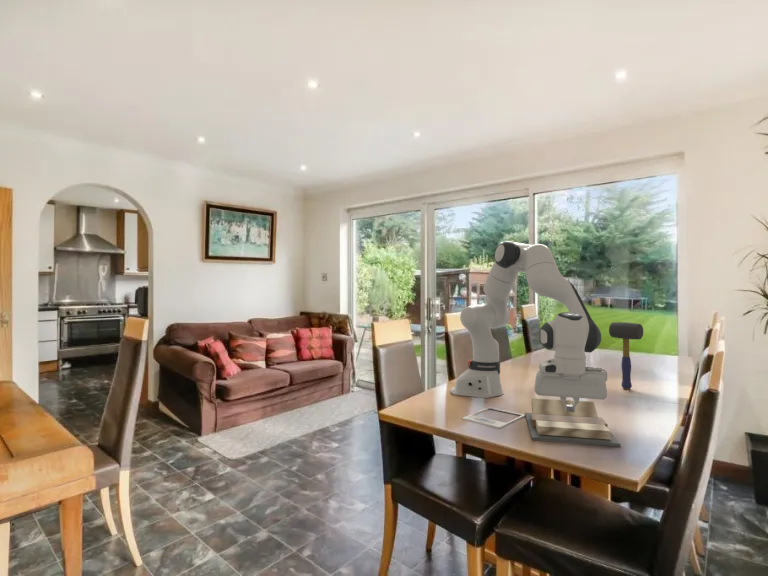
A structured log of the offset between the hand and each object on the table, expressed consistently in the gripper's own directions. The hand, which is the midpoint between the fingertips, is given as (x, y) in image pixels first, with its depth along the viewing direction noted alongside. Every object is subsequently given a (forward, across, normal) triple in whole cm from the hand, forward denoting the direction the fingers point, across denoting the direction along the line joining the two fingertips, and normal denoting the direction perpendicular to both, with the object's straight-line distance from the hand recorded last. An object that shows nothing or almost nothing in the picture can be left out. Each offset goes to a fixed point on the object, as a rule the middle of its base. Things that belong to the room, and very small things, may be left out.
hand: (569, 411), depth 128 cm
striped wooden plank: (+8, -1, -8) cm, 12 cm away
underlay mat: (+8, -1, -8) cm, 12 cm away
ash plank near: (+7, -1, -1) cm, 7 cm away
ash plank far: (+5, -1, -16) cm, 17 cm away
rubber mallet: (+9, -35, -71) cm, 80 cm away
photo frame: (+9, +22, -15) cm, 28 cm away
